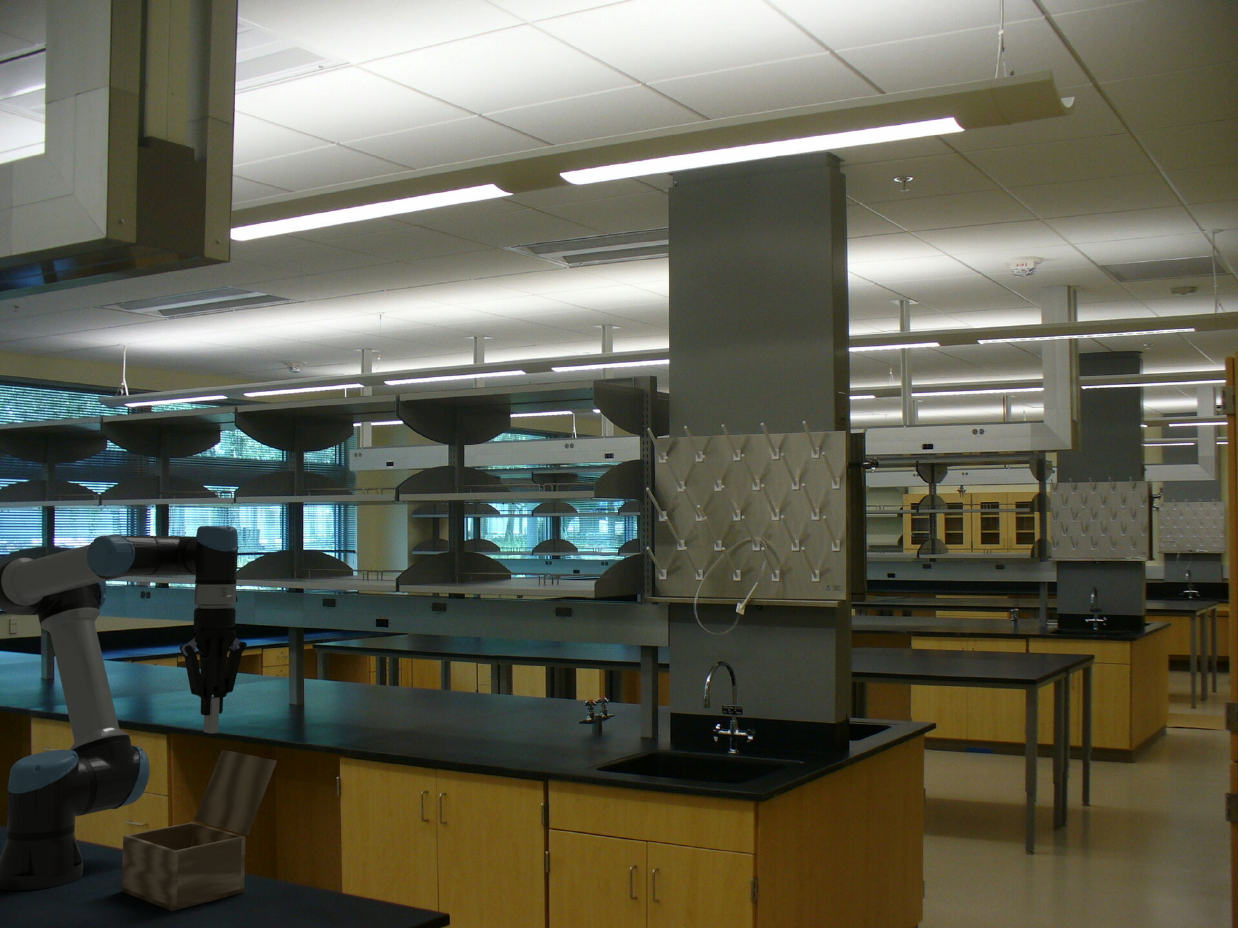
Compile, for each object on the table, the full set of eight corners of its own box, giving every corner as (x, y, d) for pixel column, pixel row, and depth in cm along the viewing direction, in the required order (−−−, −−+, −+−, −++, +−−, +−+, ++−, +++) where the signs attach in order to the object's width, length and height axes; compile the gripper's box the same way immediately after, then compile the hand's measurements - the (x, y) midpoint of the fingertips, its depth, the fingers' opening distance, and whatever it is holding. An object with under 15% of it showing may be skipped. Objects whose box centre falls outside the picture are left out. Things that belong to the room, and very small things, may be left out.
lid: (222, 749, 224) (225, 750, 225) (193, 820, 219) (196, 821, 219) (274, 759, 213) (277, 760, 213) (245, 834, 207) (248, 835, 208)
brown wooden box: (121, 891, 207) (123, 835, 208) (191, 874, 218) (193, 821, 219) (172, 910, 196) (174, 851, 196) (244, 892, 206) (245, 836, 207)
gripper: (194, 608, 207) (189, 738, 206) (256, 606, 217) (252, 730, 216) (172, 607, 212) (168, 734, 210) (234, 604, 222) (231, 726, 220)
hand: (210, 731), depth 213 cm, fingers closed
